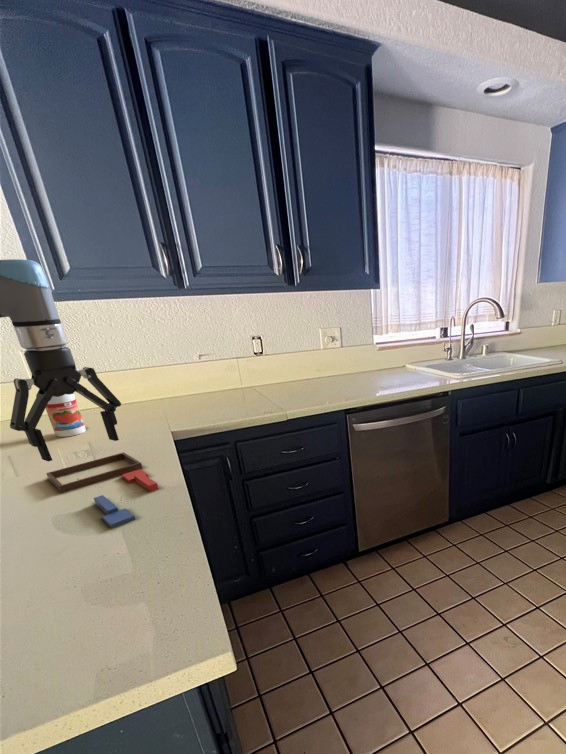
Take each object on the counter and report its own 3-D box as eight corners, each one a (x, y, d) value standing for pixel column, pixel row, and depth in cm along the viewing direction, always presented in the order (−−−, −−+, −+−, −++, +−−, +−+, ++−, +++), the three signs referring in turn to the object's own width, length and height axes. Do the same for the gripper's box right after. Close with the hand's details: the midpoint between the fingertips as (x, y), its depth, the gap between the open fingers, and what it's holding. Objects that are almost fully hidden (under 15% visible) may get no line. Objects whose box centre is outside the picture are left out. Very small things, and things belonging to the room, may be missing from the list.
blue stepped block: (90, 509, 101) (86, 500, 100) (112, 501, 104) (109, 492, 103) (112, 531, 91) (109, 521, 90) (136, 522, 94) (133, 512, 93)
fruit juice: (79, 427, 162) (52, 351, 150) (91, 431, 157) (65, 353, 146) (51, 435, 155) (21, 355, 143) (62, 439, 150) (32, 357, 139)
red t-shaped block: (165, 489, 109) (162, 481, 108) (145, 496, 106) (142, 487, 105) (141, 474, 119) (139, 466, 118) (122, 480, 116) (120, 471, 115)
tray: (62, 495, 108) (59, 486, 107) (49, 481, 117) (46, 473, 116) (143, 470, 121) (141, 462, 120) (126, 459, 130) (123, 452, 129)
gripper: (-27, 359, 72) (23, 473, 81) (120, 340, 91) (146, 434, 100) (-43, 356, 76) (6, 466, 85) (101, 339, 95) (129, 430, 104)
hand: (82, 449), depth 93 cm, fingers open, 13 cm apart
